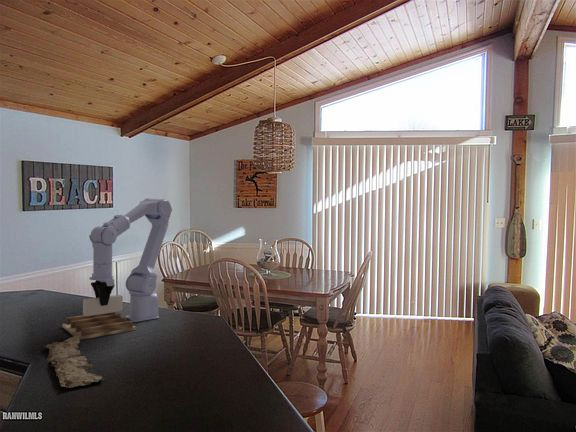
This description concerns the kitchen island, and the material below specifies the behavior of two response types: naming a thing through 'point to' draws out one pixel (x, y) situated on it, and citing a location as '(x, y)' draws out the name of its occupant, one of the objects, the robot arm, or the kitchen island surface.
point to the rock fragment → (70, 363)
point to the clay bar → (95, 308)
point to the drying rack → (97, 325)
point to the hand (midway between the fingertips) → (102, 304)
